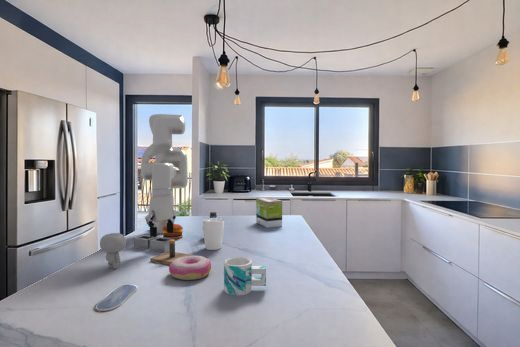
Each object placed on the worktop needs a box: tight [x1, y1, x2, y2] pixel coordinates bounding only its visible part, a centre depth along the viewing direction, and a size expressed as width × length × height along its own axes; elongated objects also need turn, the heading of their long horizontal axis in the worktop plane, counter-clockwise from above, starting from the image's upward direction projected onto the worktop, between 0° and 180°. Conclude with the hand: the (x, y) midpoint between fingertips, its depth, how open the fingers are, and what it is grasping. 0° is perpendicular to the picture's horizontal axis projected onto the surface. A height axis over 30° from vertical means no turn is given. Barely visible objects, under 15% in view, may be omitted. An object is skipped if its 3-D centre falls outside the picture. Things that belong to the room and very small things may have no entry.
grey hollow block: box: [133, 234, 159, 251], centre depth 137 cm, size 8×6×4 cm
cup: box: [202, 217, 225, 251], centre depth 135 cm, size 9×9×12 cm
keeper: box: [149, 240, 195, 266], centre depth 119 cm, size 12×10×7 cm
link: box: [149, 236, 176, 253], centre depth 133 cm, size 8×6×4 cm
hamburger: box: [162, 223, 184, 241], centre depth 152 cm, size 9×10×7 cm
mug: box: [223, 256, 267, 296], centre depth 93 cm, size 8×12×8 cm
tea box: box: [255, 197, 283, 229], centre depth 183 cm, size 15×10×15 cm, turn 25°
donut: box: [168, 255, 212, 281], centre depth 105 cm, size 14×13×5 cm
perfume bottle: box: [209, 211, 218, 218], centre depth 153 cm, size 6×6×12 cm
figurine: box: [99, 232, 127, 270], centre depth 110 cm, size 8×8×12 cm
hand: (162, 234), depth 132 cm, fingers open, 9 cm apart
